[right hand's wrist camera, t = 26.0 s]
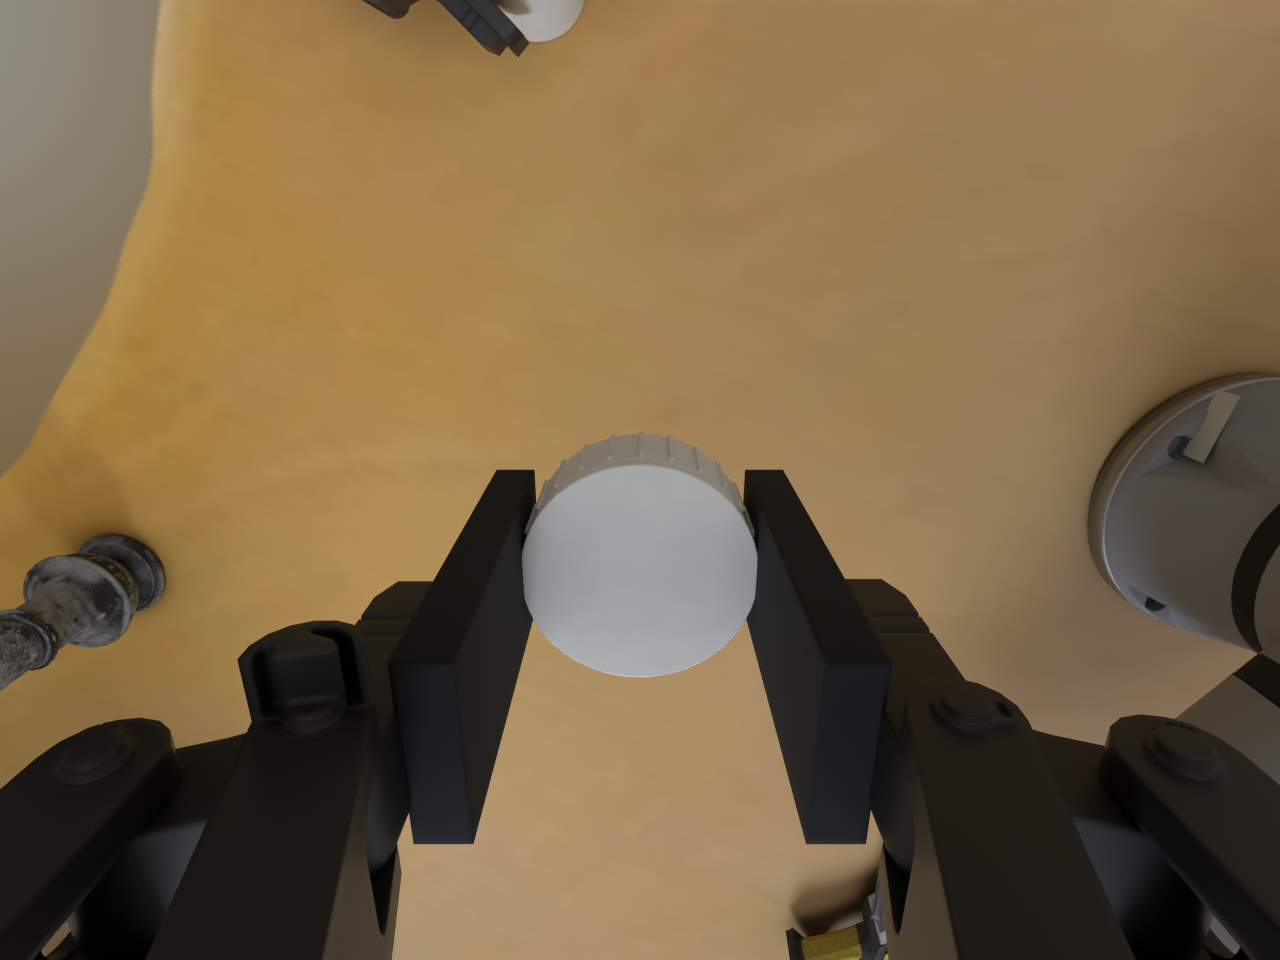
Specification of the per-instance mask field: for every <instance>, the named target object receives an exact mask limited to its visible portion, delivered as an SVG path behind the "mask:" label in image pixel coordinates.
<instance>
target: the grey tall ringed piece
mask: <svg viewBox="0 0 1280 960" xmlns="http://www.w3.org/2000/svg"><path fill="white" fill-rule="evenodd" d="M164 584H165V579H164V574H163V570H162V568H161V566H160V564H159V562H158V560H157V559H156V558H155V557H154V555H153V554H152V553H151V552H150V551H149V550H148V549H146V548H145V547H144V546H143V545H141V544H140V543H138V542H136V541H134V540H132V539H130V538H127V537H123V536H120V535H109V534H106V535H101V536H96V537H94V538H92V539H90V540H88V541H86V542H85V543H84V544H83V545H82V546H81V547H80V548H79V550H78V552H77V554H70V555H65V556H62V555H60V556H54V557H49V558H46V559H44V560H42V561H40V562H39V563H37V564H35V565H34V566H33V567H32V568H31V570H30V571H29V572H28V573H27V576H26V578H25V581H24V589H23V595H24V599H25V603H24V604H23V605H21V606H19V607H18V608H16V609H15V610H4V611H0V691H1V690H2V689H3V688H5V687H6V686H7V685H9V684H10V683H12V682H13V681H14V680H16V679H17V678H18V677H20V676H21V675H23V674H24V673H25V672H27V671H28V670H38V669H42V668H44V667H46V666H48V665H49V664H50V663H51V662H52V661H53V660H54V659H55V657H56V655H57V651H58V650H59V649H61V648H62V647H64V646H65V645H66V644H68V643H69V644H73V645H77V646H81V647H99V646H105V645H108V644H110V643H112V642H114V641H116V640H118V639H119V638H120V637H121V636H122V635H123V634H124V633H125V632H126V630H127V628H128V626H129V624H130V622H131V619H132V617H133V615H134V613H135V612H137V611H142V610H145V609H147V608H149V607H151V606H153V605H154V604H155V603H156V602H157V601H158V600H159V599H160V597H161V595H162V593H163V591H164Z"/></svg>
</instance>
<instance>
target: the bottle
mask: <svg viewBox="0 0 1280 960" xmlns="http://www.w3.org/2000/svg"><path fill="white" fill-rule="evenodd" d="M492 1H493V2H494V3H495V4H496V5H497V6H498V7H499V8H500V10H501V11H502V12H503V13H504V14H505V15H506V16H507V17H508V18H509V19H510V20H511V21H512V22H513V23H514V24H515V25H516V26H517V27H518V29H519V30H520V31H521V32H522V33H523V34H524V36H525V37H526V39H527V41H532V42H544V41H549V40H552V39H555V38H557V37H559V36H561V35H562V34H564V33H565V32H566V31H568V30H569V29H570V28H571V27H572V26H573V24H574V23H575V21H576V20H577V18H578V17H579V15H580V13H581V11H582V8H583V5H584V2H585V0H492Z"/></svg>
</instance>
